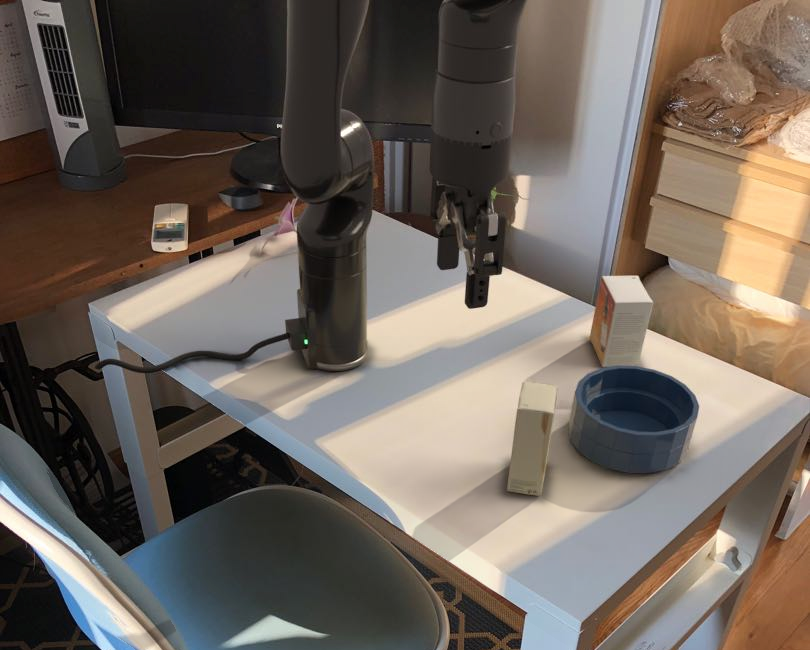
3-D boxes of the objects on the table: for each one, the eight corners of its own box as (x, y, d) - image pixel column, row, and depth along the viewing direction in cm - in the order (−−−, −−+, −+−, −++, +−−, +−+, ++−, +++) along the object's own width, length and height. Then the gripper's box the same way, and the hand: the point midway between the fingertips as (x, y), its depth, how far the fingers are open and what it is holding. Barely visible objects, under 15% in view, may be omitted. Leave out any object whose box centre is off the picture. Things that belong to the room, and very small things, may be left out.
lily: (298, 232, 165) (268, 186, 159) (344, 224, 157) (314, 176, 151) (263, 276, 160) (230, 231, 154) (308, 270, 152) (275, 223, 146)
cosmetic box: (541, 497, 111) (554, 415, 102) (505, 492, 111) (516, 409, 103) (545, 465, 115) (559, 383, 107) (511, 460, 116) (522, 379, 108)
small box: (588, 339, 138) (600, 274, 131) (624, 338, 139) (638, 274, 131) (601, 368, 132) (614, 302, 125) (638, 367, 133) (654, 301, 126)
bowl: (599, 486, 113) (609, 443, 108) (549, 415, 123) (556, 374, 119) (709, 465, 116) (722, 424, 112) (651, 398, 127) (661, 358, 123)
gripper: (409, 102, 88) (406, 260, 99) (460, 156, 78) (450, 325, 89) (482, 96, 89) (470, 252, 100) (541, 148, 80) (521, 315, 91)
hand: (461, 286), depth 95 cm, fingers open, 8 cm apart
